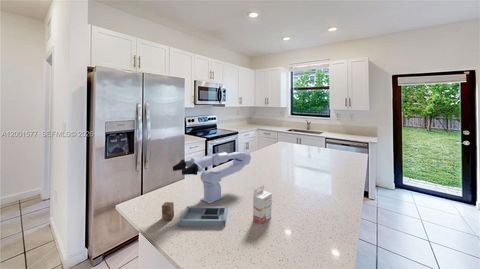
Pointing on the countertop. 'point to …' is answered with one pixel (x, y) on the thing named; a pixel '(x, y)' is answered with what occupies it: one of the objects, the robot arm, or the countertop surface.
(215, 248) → the countertop surface
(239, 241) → the countertop surface
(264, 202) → the ink cartridge box
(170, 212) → the tan wooden block
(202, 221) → the blue shallow rectangular tray
